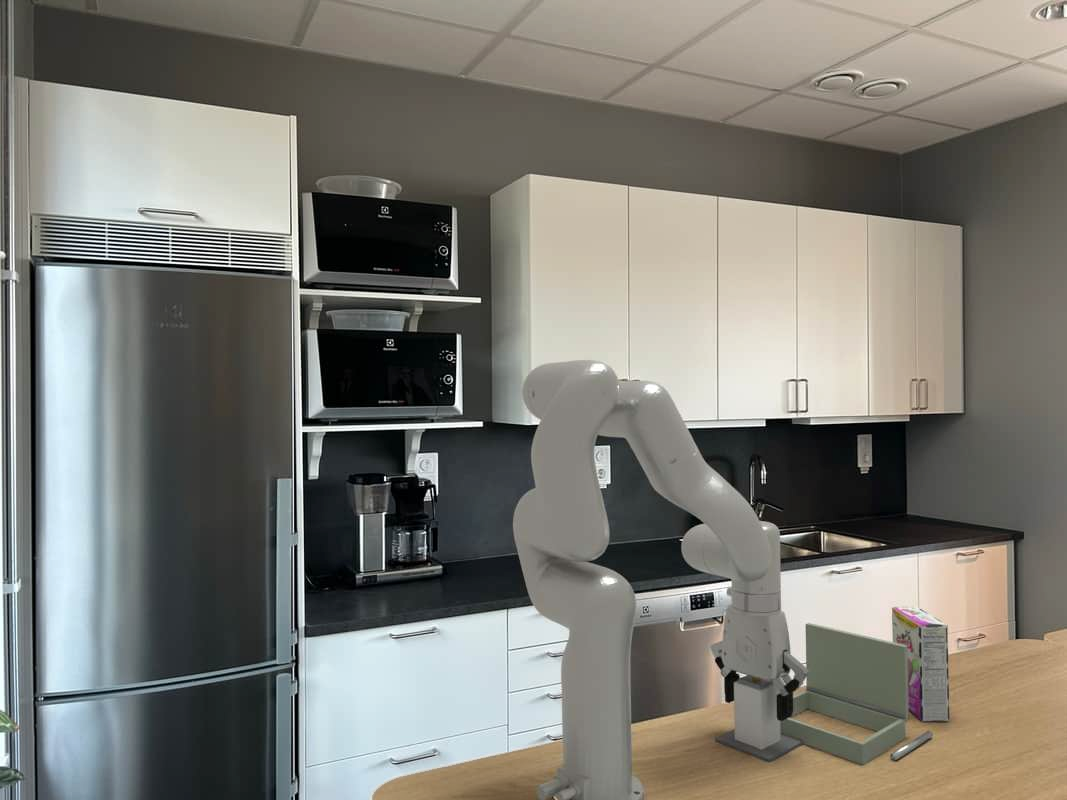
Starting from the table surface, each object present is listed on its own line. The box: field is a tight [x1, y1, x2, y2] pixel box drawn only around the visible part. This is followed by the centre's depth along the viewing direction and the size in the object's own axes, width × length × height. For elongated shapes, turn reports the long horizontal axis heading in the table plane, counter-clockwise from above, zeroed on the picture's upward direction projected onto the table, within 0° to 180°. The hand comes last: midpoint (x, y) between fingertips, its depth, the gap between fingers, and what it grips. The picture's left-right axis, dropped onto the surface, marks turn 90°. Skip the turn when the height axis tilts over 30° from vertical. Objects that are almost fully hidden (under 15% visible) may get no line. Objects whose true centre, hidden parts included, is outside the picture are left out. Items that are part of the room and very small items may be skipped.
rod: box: [889, 730, 934, 761], centre depth 123 cm, size 12×1×1 cm, turn 130°
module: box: [733, 675, 780, 750], centre depth 126 cm, size 5×5×10 cm
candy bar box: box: [891, 606, 950, 723], centre depth 138 cm, size 11×5×16 cm, turn 179°
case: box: [780, 622, 910, 766], centre depth 129 cm, size 15×17×14 cm
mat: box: [714, 728, 804, 763], centre depth 126 cm, size 9×10×1 cm
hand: (757, 709), depth 126 cm, fingers open, 9 cm apart
